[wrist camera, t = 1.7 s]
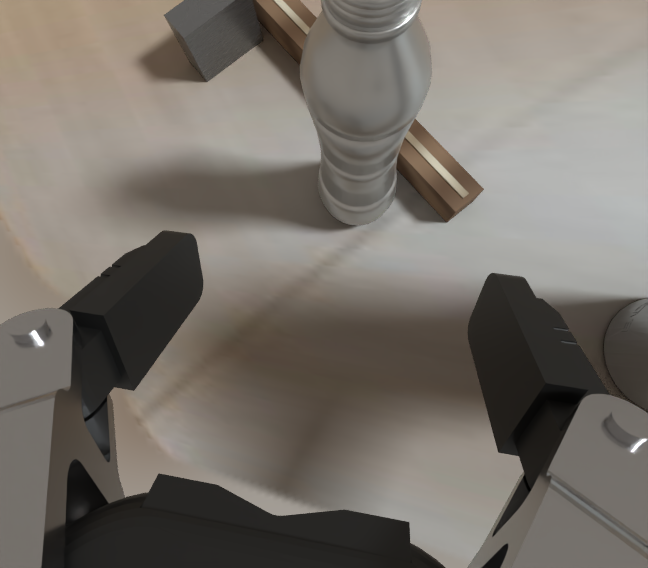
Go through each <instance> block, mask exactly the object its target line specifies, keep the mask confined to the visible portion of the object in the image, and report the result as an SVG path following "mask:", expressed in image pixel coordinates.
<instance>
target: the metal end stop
mask: <svg viewBox="0 0 648 568" xmlns="http://www.w3.org/2000/svg"><path fill="white" fill-rule="evenodd" d="M164 16H165V18H166V20H167V22H168V24H169V25H170V27H171V29H172V31H173V33H174V34H175V36H176V38H177V40H178V42H179V43H180V45H181V47H182V49H183V51H184V52H185V54H186V56H187V58H188V60H189V61H190V63H191V64H192V65H193V66H194V67H195V69H196V70H197V71H198V72H199V73H200V74H201V76H202V77H203V78H204V79H205V80H206V81H207V82H208V81H209V80H210V79H212V78H213V77H214V76H216V75H217V74H218V73H220V72H221V71H222V70H224V69H225V68H226V67H228V66H229V65H230V64H232V63H233V62H234V61H236V60H237V59H238V58H240V57H241V56H242V55H244V54H245V53H246V52H248V51H249V50H250V49H252V48H253V47H254V46H256V45H257V44H258V43H260V42H261V41H263V37H262V34H261V30H260V26H259V23H258V19H257V15H256V11H255V8H254V4H253V0H184V1H183V2H181V3H180V4H179V5H177V6H176V7H174V8H173V9H172V10H170V11H169V12H168V13H166V14H165V15H164Z"/></svg>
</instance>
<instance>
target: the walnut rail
mask: <svg viewBox="0 0 648 568" xmlns="http://www.w3.org/2000/svg"><path fill="white" fill-rule="evenodd" d="M253 4H254V8H255V11H256V15H257V19H258V21H259V22H260V23H261V24H262V25H263V26H264V27H265V28H266V29H267V30H268V31H269V32H270V33H271V34H272V36H273V37H274V38H275V39H276V40H277V41H278V42H279V43H280V44H281V45H282V46H283V47H284V48H285V50H286V51H287V52H288V53H289V54H290V55H291V56H292V57H293V58H294V59H295V60H296V61H297V62H298V63H299V65H300V63H301V58H302V52H303V47H304V42H305V39H306V37H307V34H308V32H309V30H310V28H311V27H312V25H313V24H314V22H315V21H316V19H317V18H316V17H315V16H314V15H313V14H312V13H311V12H310V11H309V10H308V9H307V8H306V6H305V5H304V4H303V3H302V2H301V1H300V0H253ZM396 169H397V170H398V171H399V172H400V173H401V174H402V175H403V176H404V177H405V178H406V179H407V180H408V181H409V183H410V184H411V185H412V186H413V187H414V188H415V189H416V190H417V191H418V192H419V193H420V194H421V195H422V196H423V198H424V199H425V200H426V201H427V202H428V203H429V204H430V205H431V206H432V207H433V208H434V209H435V210H436V211H437V213H438V214H439V215H440V216H441V217H442V218H443V219H444V220H445V221H446V222H448V221H449V220H451V219H452V218H453V217H454V216H456V215H457V214H458V213H459V212H460V211H462V210H463V209H464V208H465V207H467V206H468V205H469V204H470V203H472V202H473V201H474V200H475V198H476V197H477V196H478V195H479V194H480V193H481V192H482V191H483V190H484V189H483V188H482V187H481V186H480V185H479V184H478V183H477V182H476V181H475V180H474V179H473V178H472V176H471V175H470V174H469V173H468V172H467V171H466V170H465V169H464V168H463V167H462V166H461V165H460V164H459V163H458V162H457V161H456V160H455V159H454V158H453V157H452V156H451V155H450V154H449V153H448V152H447V151H446V150H445V149H444V148H443V147H442V146H441V145H440V144H439V143H438V142H437V141H436V140H435V139H434V138H433V137H432V136H431V135H430V133H429V132H428V131H427V130H426V129H425V128H424V127H423V126H422V125H421V124H420V123H419V122H418V121H417V120H416V119H414V121H413V123H412V125H411V127H410V128H409V130H408V132H407V134H406V136H405V137H404V140H403V143H402V146H401V148H400V151H399V154H398V157H397V164H396Z"/></svg>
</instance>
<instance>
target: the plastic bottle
mask: <svg viewBox="0 0 648 568" xmlns="http://www.w3.org/2000/svg"><path fill="white" fill-rule="evenodd" d="M421 2H422V0H321V4H322V12H321V13H320V14H319V16H318V17H317V19H316V21H315V22H314V24H313V25H312V27H311V28H310V30H309V32H308V34H307V37H306V39H305V42H304V47H303V52H302V58H301V63H300V81H301V85H302V89H303V93H304V96H305V101H306V103H307V106H308V109H309V111H310V114H311V117H312V120H313V122H314V125H315V128H316V130H317V134H318V139H319V143H320V148H321V164H320V168H319V174H318V191H319V195H320V198H321V200H322V202H323V204H324V205H325V207H326V209H327V210H328V211H329V213H330V214H331V215H332V216H333V217H334V218H336V219H337V220H339V221H341V222H343V223H346V224H349V225H365V224H369V223H371V222H373V221H375V220H377V219H378V218H379V217H381V216H382V215H383V213H384V212H385V211H386V210H387V209H388V208H389V206H390V205H391V203H392V201H393V199H394V196H395V194H396V186H397V173H396V164H397V157H398V154H399V151H400V148H401V146H402V143H403V140H404V137H405V136H406V134H407V132H408V130H409V128H410V127H411V125H412V123H413V121H414V119H415V117H416V116H417V114H418V112H419V110H420V109H421V107H422V104H423V102H424V100H425V97H426V95H427V92H428V89H429V87H430V84H431V75H432V62H431V49H430V43H429V40H428V37H427V34H426V32H425V29H424V27H423V25H422V23H421V21H420V19H419V17H418V13H419V10H420V6H421Z"/></svg>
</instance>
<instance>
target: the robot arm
mask: <svg viewBox="0 0 648 568" xmlns="http://www.w3.org/2000/svg"><path fill="white" fill-rule="evenodd" d="M202 291H203V276H202V270H201V265H200V259H199V253H198V247H197V242H196V239H195V237H194V236H193V235H192V234H189V233H181V232H174V231H162V232H160V233H159V234H158V235H157V236H156V237H155V238H153V239H152V240H151V241H150V242H149V243H148V244H146V245H143V246H141V247H139V248H137V249H135V250H132V251H130V252H128V253H126V254H124V255H123V256H122V257H121V258H120V259H118V260H117V261H116V262H115V263H113V264H112V267H109V268H107V269H106V270H105V271H104V272H102V273H101V276H100V277H99V276H98V277H96V278H95V279H94V280H93V281H91V282H90V283H89V284H88V285H87V286H85V287H84V288H83V289H82V290H81V291H79V292H78V293H77V294H76V295H74V296H73V297H72V298H71V299H70V300H68V301H67V302H66V303H65V304H63V305H62V306H61V307H60V308H59V309H55V308H45V309H38V310H33V311H29V312H26V313H23V314H20V315H18V316H15V317H13V318H11V319H9V320H7V321H5V322H4V323H2V324H1V325H0V568H445V567H444V566H443V565H442V564H441V563H440V562H438V561H437V560H436V559H435V558H433V557H432V556H431V555H429V554H428V553H426V552H425V551H423V550H422V549H420V548H419V547H417V546H415V545H413V544H411V543H410V528H409V522H405V521H400V520H395V519H390V518H385V517H379V516H374V515H369V514H364V513H359V512H354V511H349V510H337V511H327V512H317V513H307V514H297V515H288V516H276V515H272V514H270V513H268V512H266V511H264V510H262V509H261V508H259V507H257V506H255V505H253V504H251V503H249V502H248V501H246V500H244V499H242V498H240V497H238V496H237V495H235V494H233V493H231V492H229V491H227V490H226V489H224V488H222V487H220V486H218V485H215V484H209V483H204V482H199V481H194V480H189V479H184V478H179V477H174V476H169V475H163V474H158V476H157V478H156V480H155V481H154V483H153V485H152V487H151V489H150V491H149V492H148V493H142V494H137V495H133V496H129V497H126V498H125V495H124V492H123V488H122V486H121V482H120V478H119V473H118V465H117V452H116V439H115V424H114V412H113V402H112V399H111V397H110V395H109V393H110V391H111V390H112V389H113V388H114V387H117V388H122V389H128V390H135V389H136V387H137V386H138V385H139V383H140V382H141V380H142V379H143V378H144V376H145V375H146V373H147V372H148V371H149V369H150V368H151V367H152V365H153V364H154V362H155V361H156V360H157V358H158V357H159V355H160V354H161V353H162V351H163V350H164V348H165V347H166V346H167V344H168V343H169V342H170V340H171V339H172V337H173V336H174V335H175V333H176V332H177V330H178V329H179V328H180V326H181V325H182V323H183V322H184V321H185V319H186V318H187V317H188V315H189V314H190V312H191V311H192V310H193V308H194V307H195V305H196V304H197V303H198V301H199V299H200V297H201V295H202ZM568 330H569V328H568V327H567V325H566V324H565V322H564V320H563V319H562V317H561V316H560V314H559V313H558V312H557V311H556V310H555V309H553V308H552V307H551V306H550V305H549V304H548V303H546V302H545V301H544V300H543V299H539V298H536V297H535V295H534V293H533V291H532V290H531V288H530V286H529V284H528V283H527V281H526V279H525V278H524V277H520V276H512V275H505V274H497V273H491V274H490V275H489V276H488V277H487V279H486V281H485V283H484V286H483V288H482V291H481V293H480V295H479V298H478V300H477V303H476V305H475V308H474V310H473V312H472V315H471V317H470V321H469V325H468V340H469V344H470V348H471V352H472V355H473V359H474V363H475V367H476V370H477V374H478V378H479V382H480V385H481V389H482V393H483V397H484V400H485V404H486V408H487V412H488V415H489V419H490V423H491V427H492V430H493V434H494V438H495V442H496V445H497V449H498V452H499V453H504V454H510V455H516V456H519V457H520V461H521V464H522V467H523V470H524V472H523V473H522V475H521V476H520V477H519V479H518V481H517V483H516V485H515V487H514V488H513V490H512V492H511V494H510V496H509V498H508V499H507V501H506V503H505V505H504V507H503V509H502V511H501V512H500V514H499V516H498V518H497V520H496V522H495V523H494V525H493V527H492V529H491V531H490V533H489V534H488V536H487V538H486V540H485V542H484V543H483V545H482V547H481V548H480V550H479V551H478V553H477V554H476V556H475V557H474V558H473V560H472V561H471V563H470V564H469V566H468V567H467V568H648V413H647V412H645V411H644V410H642V409H641V408H639V407H637V406H636V405H634V404H632V403H630V402H628V401H626V400H623V399H621V398H618V397H615V396H611V395H610V394H609V393H608V391H607V390H606V388H605V386H604V385H603V383H602V382H601V380H600V378H599V377H598V375H597V374H596V372H595V370H594V369H593V367H592V365H591V364H590V362H589V361H588V359H587V357H586V356H585V354H584V353H583V351H582V349H581V348H580V346H579V345H577V341H576V340H575V338H574V337H573V335H572V333H571V332H568ZM604 355H605V361H606V365H607V368H608V370H609V373H610V375H611V377H612V379H613V381H614V382H615V384H616V385H617V387H618V388H619V389H620V390H621V391H622V392H623V393H624V394H625V396H626V397H627V398H628V399H630V400H631V401H633V402H634V403H635V404H637V405H638V406H640V407H642V408H644V409H646V410H648V299H641V300H639V301H636V302H633V303H631V304H629V305H628V306H626V307H625V308H623V309H622V310H620V311H619V313H618V314H617V315H616V316H615V317H614V318H613V319H612V321H611V323H610V325H609V327H608V329H607V332H606V336H605V340H604Z"/></svg>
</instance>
